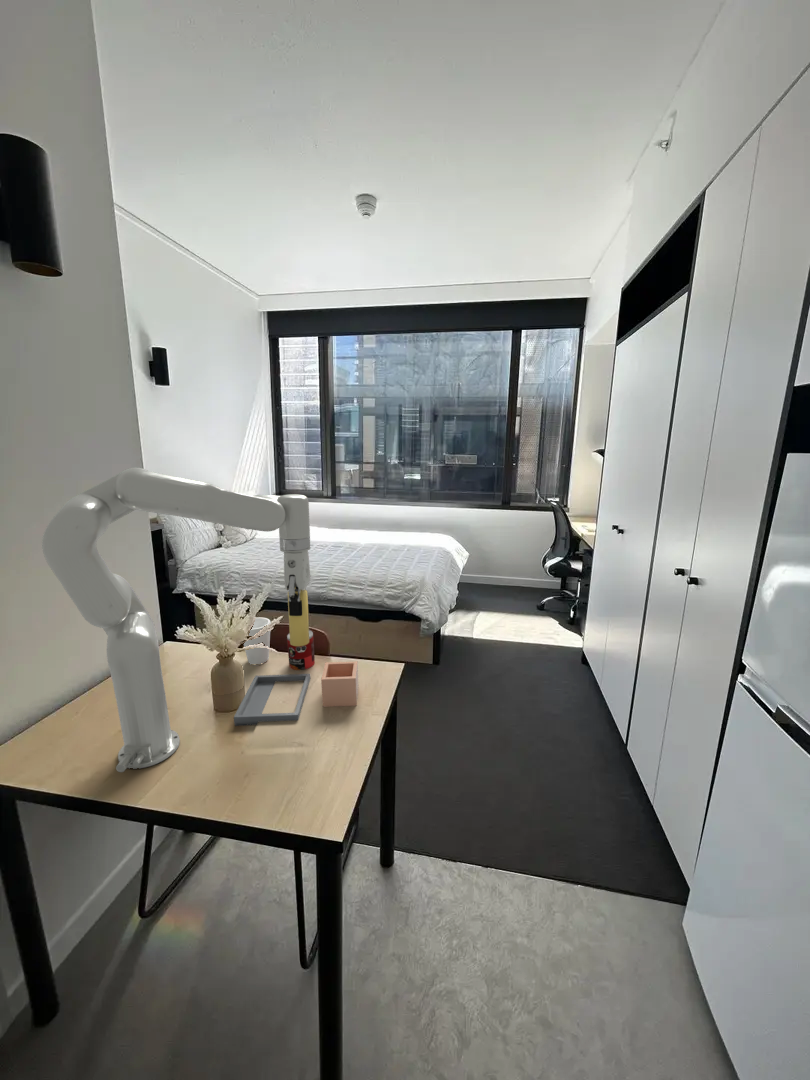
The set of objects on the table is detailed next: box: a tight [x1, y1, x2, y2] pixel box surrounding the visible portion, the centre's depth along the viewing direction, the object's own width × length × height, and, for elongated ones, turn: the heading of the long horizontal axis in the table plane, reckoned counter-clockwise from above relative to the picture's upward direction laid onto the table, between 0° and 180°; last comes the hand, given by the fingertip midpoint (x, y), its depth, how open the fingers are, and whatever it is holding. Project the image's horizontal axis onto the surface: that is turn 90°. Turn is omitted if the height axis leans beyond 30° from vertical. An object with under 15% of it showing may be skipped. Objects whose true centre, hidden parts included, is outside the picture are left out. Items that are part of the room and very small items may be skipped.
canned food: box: [286, 629, 316, 671], centre depth 142 cm, size 8×8×11 cm
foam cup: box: [243, 616, 272, 665], centre depth 146 cm, size 10×9×13 cm
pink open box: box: [320, 660, 359, 708], centre depth 125 cm, size 9×9×9 cm
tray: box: [233, 673, 311, 727], centre depth 125 cm, size 20×16×2 cm
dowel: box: [287, 589, 310, 646], centre depth 119 cm, size 5×5×14 cm
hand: (298, 610), depth 119 cm, fingers closed on dowel, 5 cm apart
